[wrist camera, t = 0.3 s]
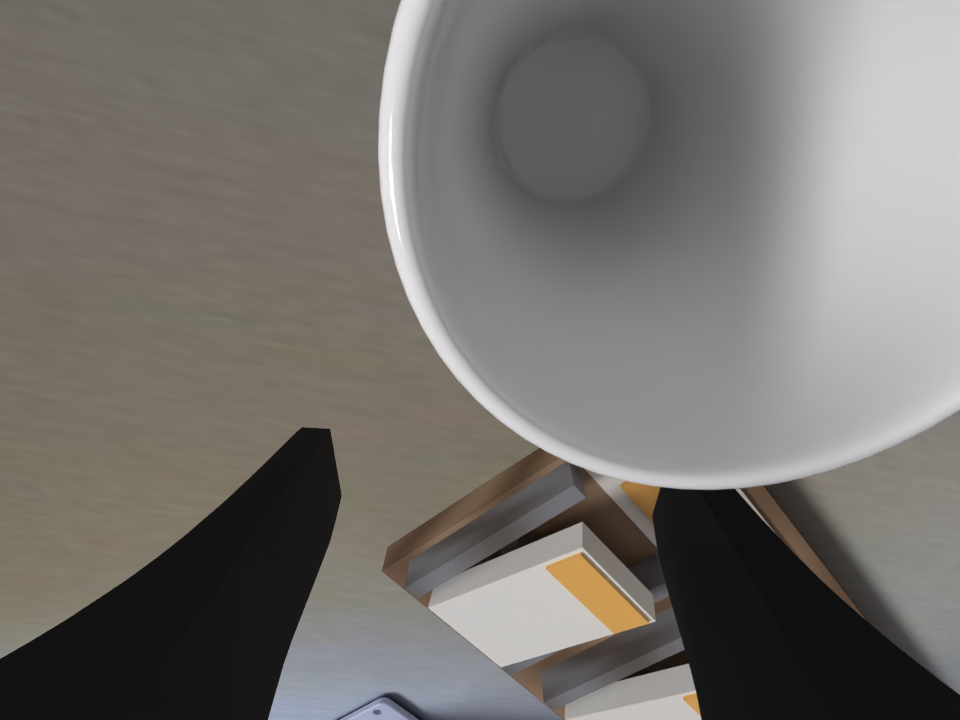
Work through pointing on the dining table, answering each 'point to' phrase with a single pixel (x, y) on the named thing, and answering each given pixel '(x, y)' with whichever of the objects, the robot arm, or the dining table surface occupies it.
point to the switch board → (552, 508)
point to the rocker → (544, 598)
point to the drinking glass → (683, 224)
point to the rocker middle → (641, 698)
